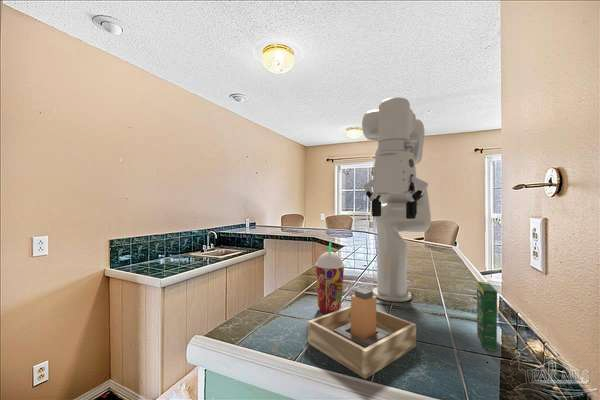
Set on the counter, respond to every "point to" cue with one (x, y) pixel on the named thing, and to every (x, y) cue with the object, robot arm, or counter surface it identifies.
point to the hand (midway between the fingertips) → (392, 217)
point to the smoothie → (329, 281)
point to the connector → (363, 314)
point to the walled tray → (357, 352)
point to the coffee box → (487, 315)
